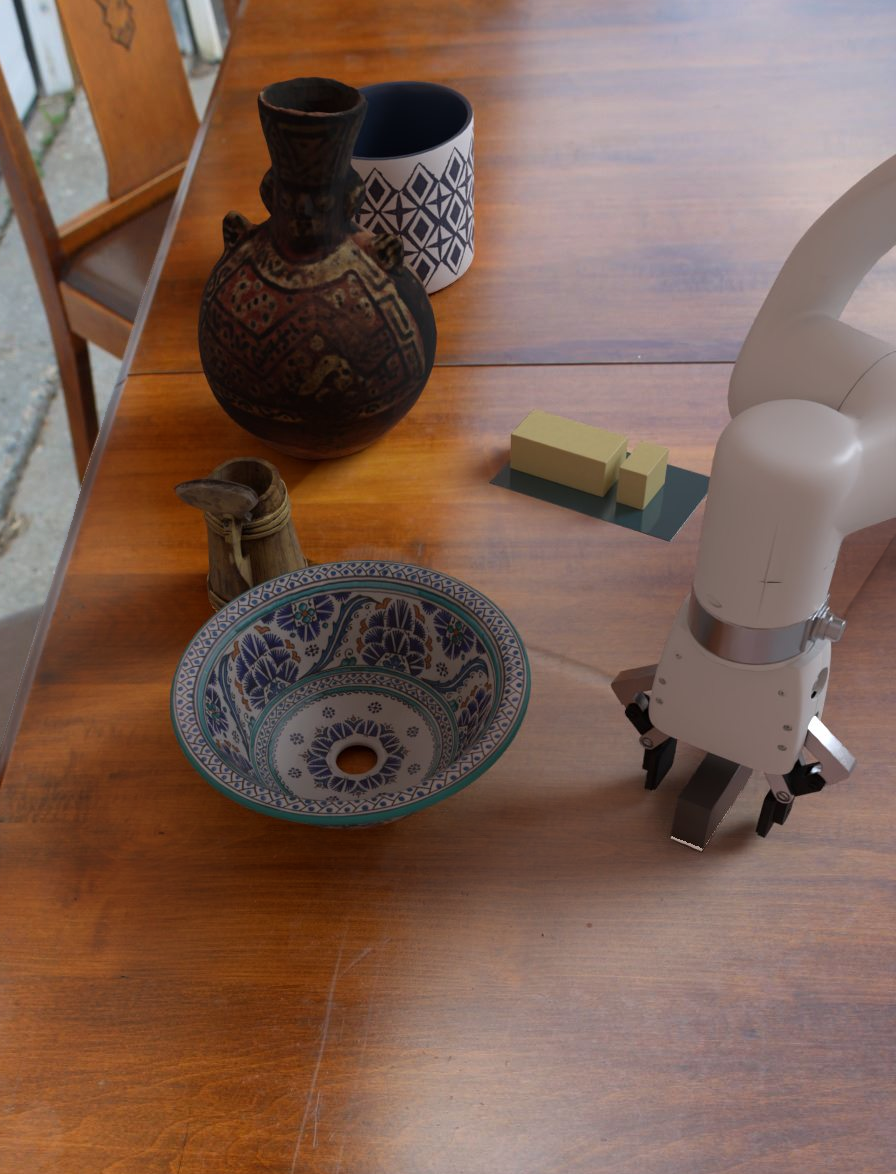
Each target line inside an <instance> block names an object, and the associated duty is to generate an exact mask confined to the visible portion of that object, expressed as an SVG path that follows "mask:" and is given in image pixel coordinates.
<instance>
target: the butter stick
mask: <svg viewBox="0 0 896 1174" xmlns="http://www.w3.org/2000/svg"><path fill="white" fill-rule="evenodd" d="M628 442H629V436H627V435H624V434H621V433H617V432H614V431H610V430H608V429H604V428H600V427H597V426H594V425H591V424H587V423H583V422H580V421H576V420H574V419H570V418H566V417H563V416H559V415H556V414H553V413H549V412H546V411H543V410H539V409H536V408H533V409H532V410H531V411H530V412H529V413H528V415H526V417H525V418H524V419H523V420H522V421H521V422H520V423H519V424H518V426H517V427H516V428H515V429H514V430H513V431H512V432H511V433H510V456H509V457H510V458H509V460H510V468H512V469H515V470H518V471H521V472H525V473H528V474H531V475H534V476H537V477H540V478H543V479H547V480H550V481H553V482H556V483H559V484H562V485H565V486H569V487H572V488H575V489H578V490H581V491H584V492H587V493H590V494H594V495H597V496H600V497H604V495H605V494H606V493H607V492H608V491H609V489H610V488H611V487H612V486H613V485H614V483H615V482H616V481H617V480H618V478H619V468H620V466H621V465H622V464H623V463H624V461H625V460H626V453H627V452H628Z"/></svg>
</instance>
